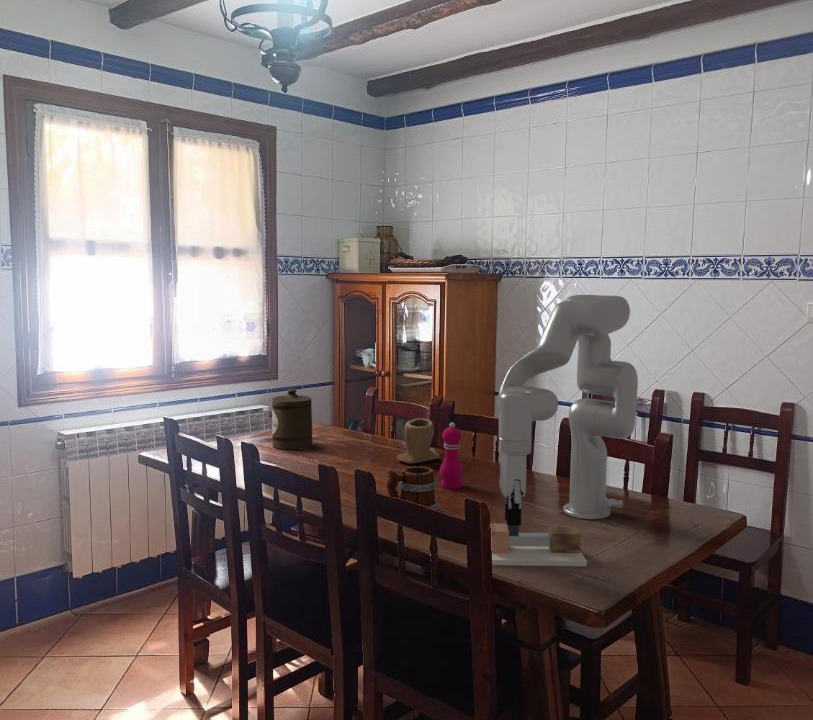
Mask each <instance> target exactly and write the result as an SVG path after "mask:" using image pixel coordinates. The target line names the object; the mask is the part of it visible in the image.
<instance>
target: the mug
mask: <svg viewBox="0 0 813 720" xmlns="http://www.w3.org/2000/svg"><path fill="white" fill-rule="evenodd" d="M434 472H435V471H434V469H432V468H430V467H429V466H428V467H427V466H417V465H415V466H414V465H413V466H406V467H404V468H403V469H402V470H401V473H400V474H398V473H397V472H396V471H394V470H392V469H388V470H387V471H386V473H387V474H388V475H389V476H388V477H389V479H387V484H386V486H387V487H386V488H387V492H388V495H389V497H390V496H391V497H396V498H400V499H404V500H408V501H411V502H414V503H417V504H421V505H424V506H427V507H430V508H433V509H436V511H437V510H439V501H437V500H436V493H435V491H436V489H437V486H438V484H437V479H435V473H434ZM397 487H399V488H400V493H399V491H398V490H397Z"/></svg>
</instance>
